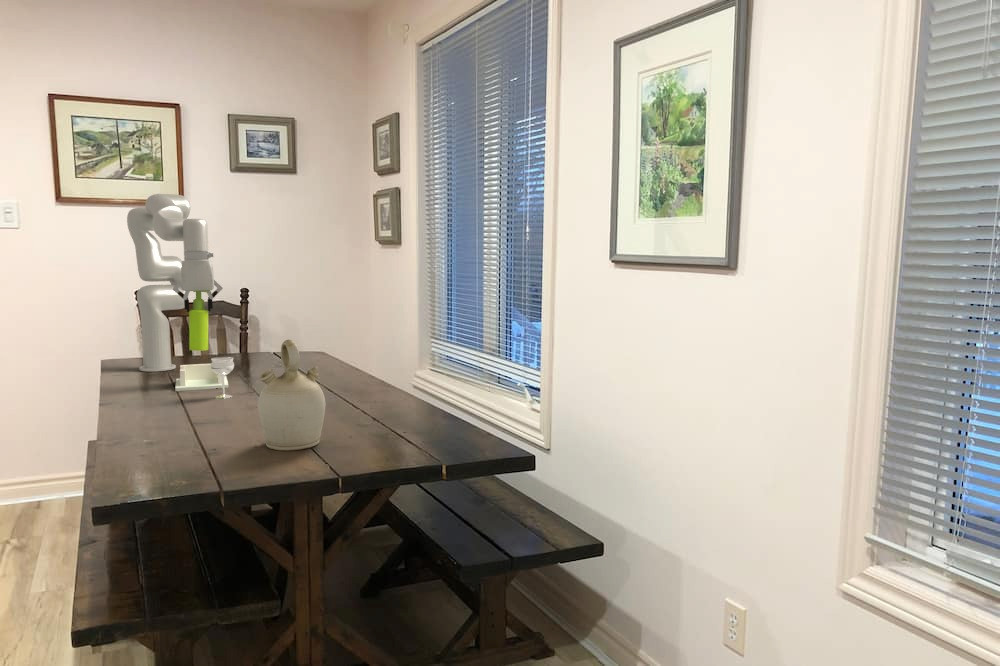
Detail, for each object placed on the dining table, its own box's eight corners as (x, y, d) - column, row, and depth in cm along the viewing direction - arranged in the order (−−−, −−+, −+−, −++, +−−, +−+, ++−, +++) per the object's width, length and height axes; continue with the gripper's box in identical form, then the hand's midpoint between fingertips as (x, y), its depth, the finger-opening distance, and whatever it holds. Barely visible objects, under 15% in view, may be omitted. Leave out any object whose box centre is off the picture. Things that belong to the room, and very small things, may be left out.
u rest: (176, 381, 255) (175, 364, 254) (226, 378, 261) (225, 361, 260) (175, 391, 239) (174, 372, 238) (228, 387, 245) (227, 369, 244)
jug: (258, 455, 167) (254, 344, 164) (260, 438, 182) (256, 336, 179) (328, 450, 171) (325, 342, 168) (324, 434, 186) (322, 334, 183)
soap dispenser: (207, 351, 246) (206, 290, 244) (186, 350, 246) (185, 289, 244) (214, 348, 252) (214, 289, 250) (194, 348, 252) (193, 288, 250)
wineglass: (220, 400, 225) (218, 360, 224) (207, 397, 230) (206, 358, 228) (240, 396, 231) (238, 358, 229) (227, 393, 235) (225, 356, 233)
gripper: (223, 256, 252) (226, 309, 254) (168, 256, 245) (170, 311, 247) (224, 256, 245) (226, 311, 247) (167, 256, 238) (170, 313, 240)
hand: (198, 310), depth 247 cm, fingers closed on soap dispenser, 5 cm apart
